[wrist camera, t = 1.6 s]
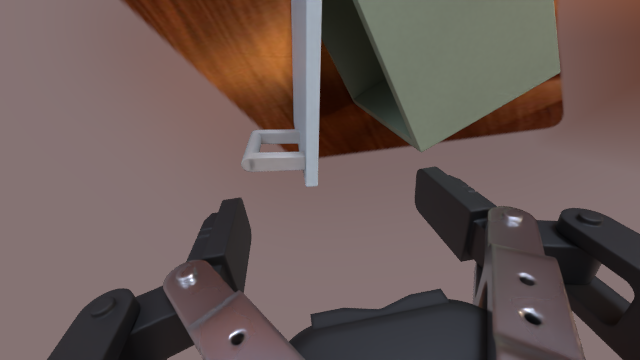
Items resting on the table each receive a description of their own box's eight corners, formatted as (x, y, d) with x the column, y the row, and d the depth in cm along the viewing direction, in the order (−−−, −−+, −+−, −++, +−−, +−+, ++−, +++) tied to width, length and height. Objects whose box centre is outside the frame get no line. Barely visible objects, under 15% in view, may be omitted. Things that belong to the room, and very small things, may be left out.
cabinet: (354, 103, 41) (421, 152, 22) (299, -4, 34) (326, -73, 14) (422, 60, 40) (560, 72, 20) (380, -61, 32) (533, -225, 13)
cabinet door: (260, 122, 40) (243, 189, 21) (250, -3, 33) (211, -73, 14) (300, 122, 41) (317, 186, 22) (298, 0, 34) (323, -63, 15)
